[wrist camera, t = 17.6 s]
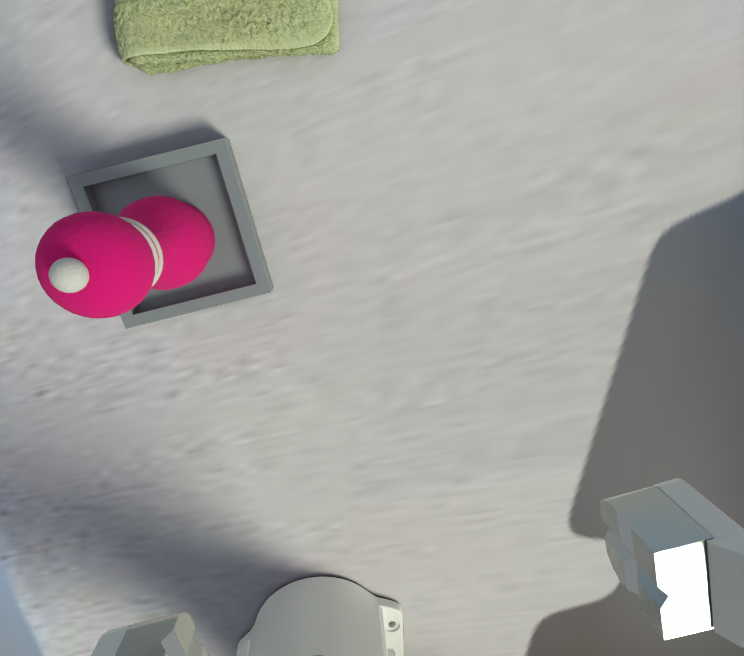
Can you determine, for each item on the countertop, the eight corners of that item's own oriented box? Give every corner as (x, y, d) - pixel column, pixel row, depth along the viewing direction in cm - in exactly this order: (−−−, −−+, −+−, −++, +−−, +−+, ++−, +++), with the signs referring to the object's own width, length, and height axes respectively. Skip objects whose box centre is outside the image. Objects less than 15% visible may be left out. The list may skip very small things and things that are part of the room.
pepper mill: (124, 260, 44) (-34, 318, 25) (149, 180, 43) (0, 177, 24) (206, 291, 46) (113, 368, 26) (232, 215, 44) (155, 238, 25)
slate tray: (273, 287, 47) (270, 292, 45) (135, 322, 47) (125, 328, 45) (229, 140, 43) (224, 137, 41) (79, 177, 43) (66, 177, 41)
